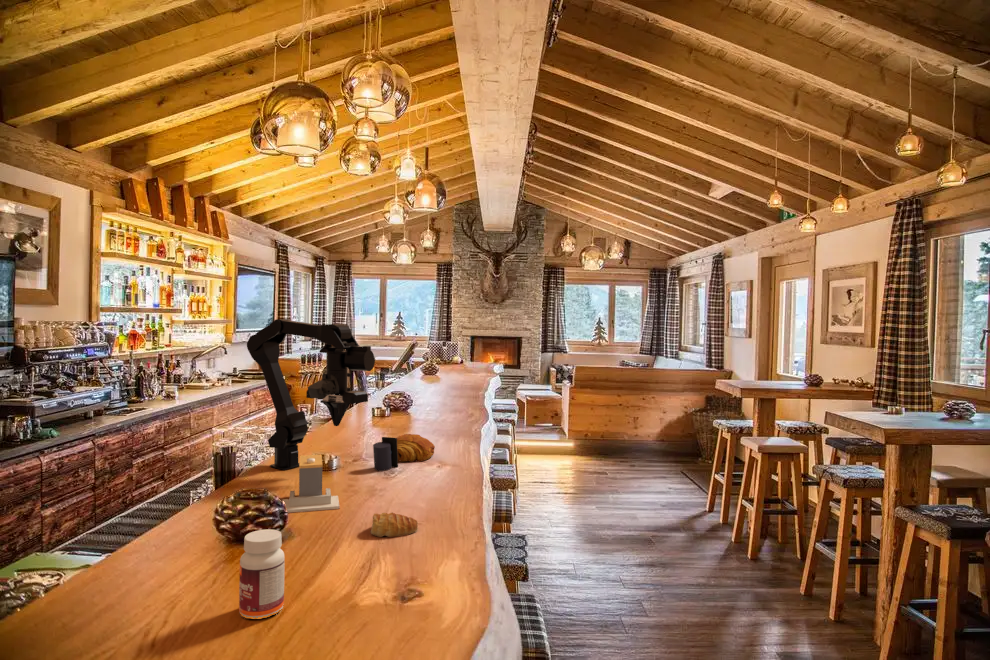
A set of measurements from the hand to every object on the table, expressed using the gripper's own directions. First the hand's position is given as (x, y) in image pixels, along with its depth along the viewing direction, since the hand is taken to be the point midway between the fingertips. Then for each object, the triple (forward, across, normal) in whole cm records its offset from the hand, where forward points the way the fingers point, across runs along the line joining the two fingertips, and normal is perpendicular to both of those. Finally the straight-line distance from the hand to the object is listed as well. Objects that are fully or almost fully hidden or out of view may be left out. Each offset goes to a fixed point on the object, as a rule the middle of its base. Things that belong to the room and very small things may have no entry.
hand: (336, 425), depth 163 cm
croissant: (+13, +5, +26) cm, 30 cm away
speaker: (+13, +8, +11) cm, 19 cm away
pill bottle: (+13, +49, -59) cm, 78 cm away
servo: (+13, +14, -20) cm, 28 cm away
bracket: (+13, +16, -23) cm, 31 cm away
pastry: (+14, +42, -24) cm, 51 cm away
